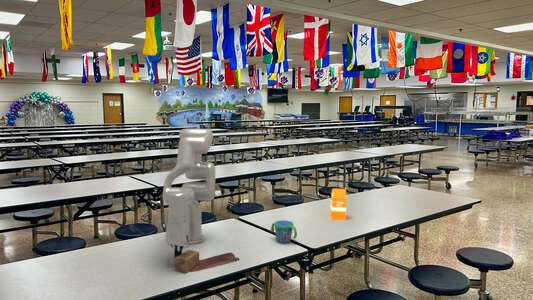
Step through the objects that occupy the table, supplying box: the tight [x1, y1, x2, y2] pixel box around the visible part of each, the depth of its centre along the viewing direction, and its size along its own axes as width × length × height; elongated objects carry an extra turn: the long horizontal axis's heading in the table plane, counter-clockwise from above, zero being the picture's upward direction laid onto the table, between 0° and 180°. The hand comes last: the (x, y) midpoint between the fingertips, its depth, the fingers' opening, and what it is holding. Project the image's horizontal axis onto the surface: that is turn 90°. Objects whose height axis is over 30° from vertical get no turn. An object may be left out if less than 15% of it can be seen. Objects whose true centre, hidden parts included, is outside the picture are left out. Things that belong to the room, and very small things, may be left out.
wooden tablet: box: [188, 252, 240, 273], centre depth 167 cm, size 26×2×10 cm
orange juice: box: [329, 188, 347, 221], centre depth 236 cm, size 8×9×20 cm
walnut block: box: [174, 249, 200, 274], centre depth 161 cm, size 6×10×6 cm, turn 158°
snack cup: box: [270, 219, 298, 244], centre depth 194 cm, size 16×10×10 cm
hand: (178, 258), depth 163 cm, fingers closed
